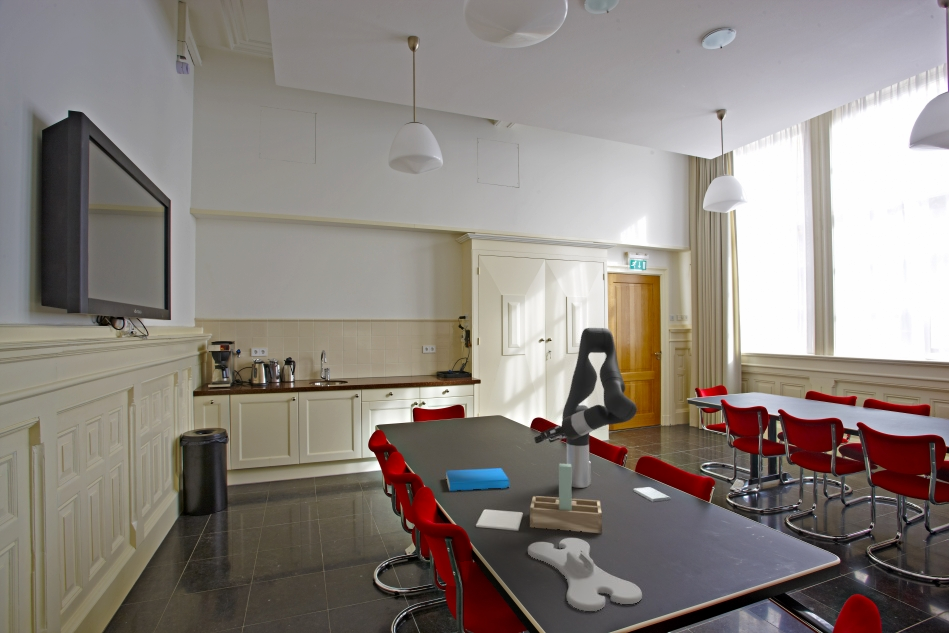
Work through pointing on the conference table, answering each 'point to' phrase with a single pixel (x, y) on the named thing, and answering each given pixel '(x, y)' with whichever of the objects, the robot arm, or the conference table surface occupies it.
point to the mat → (500, 519)
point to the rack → (566, 515)
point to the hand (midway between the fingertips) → (542, 440)
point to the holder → (584, 575)
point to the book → (476, 479)
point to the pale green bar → (565, 487)
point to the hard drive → (651, 494)
